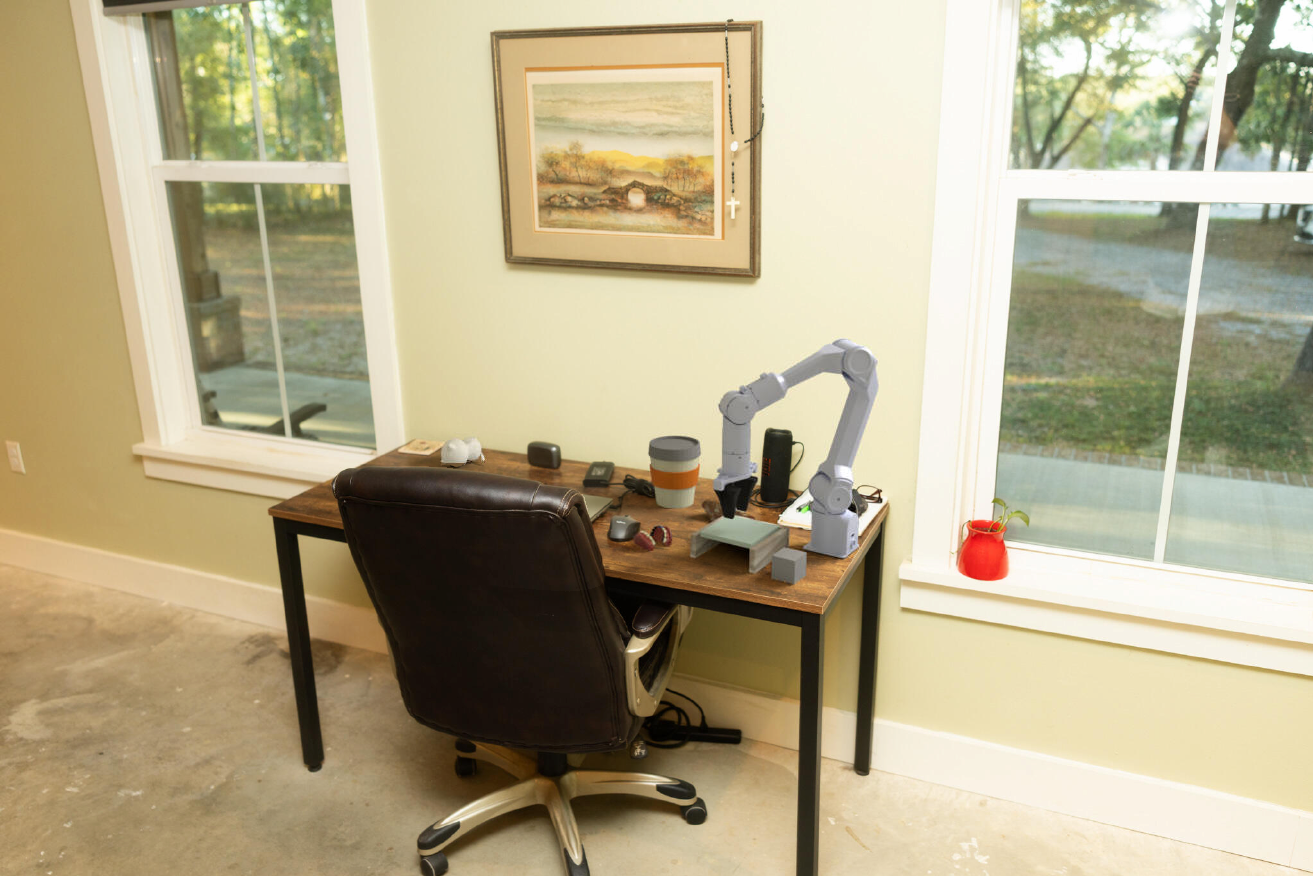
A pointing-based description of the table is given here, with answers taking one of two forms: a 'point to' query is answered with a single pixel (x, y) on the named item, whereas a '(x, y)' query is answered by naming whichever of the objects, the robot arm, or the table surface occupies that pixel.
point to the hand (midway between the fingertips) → (735, 514)
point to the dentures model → (653, 537)
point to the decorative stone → (720, 510)
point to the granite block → (789, 565)
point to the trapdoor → (739, 531)
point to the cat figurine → (461, 450)
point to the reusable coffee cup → (674, 469)
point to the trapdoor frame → (758, 553)
